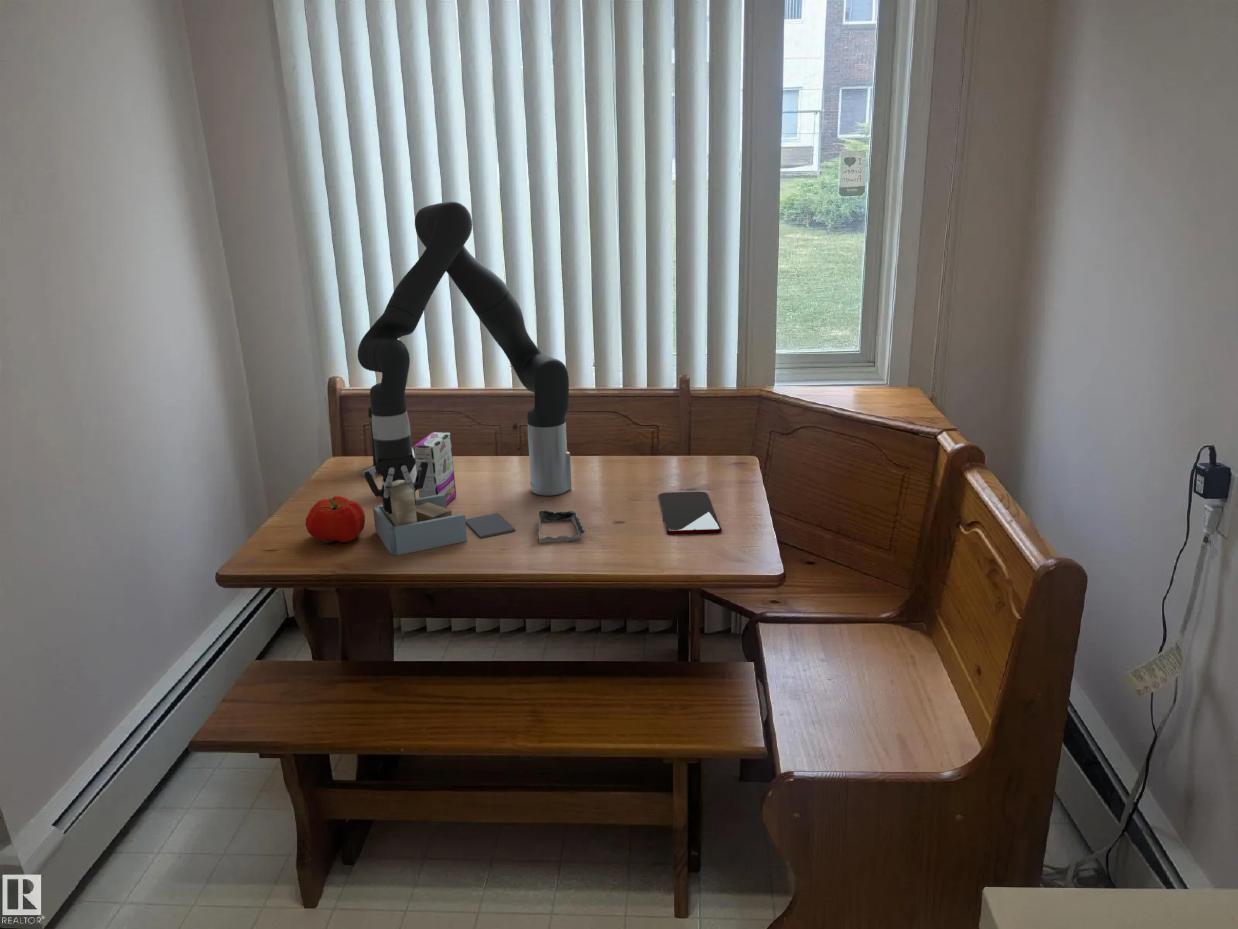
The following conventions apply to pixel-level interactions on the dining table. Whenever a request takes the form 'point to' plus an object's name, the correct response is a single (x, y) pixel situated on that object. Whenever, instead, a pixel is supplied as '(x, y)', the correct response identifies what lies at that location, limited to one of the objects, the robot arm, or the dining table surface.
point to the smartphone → (688, 513)
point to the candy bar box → (437, 465)
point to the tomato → (335, 520)
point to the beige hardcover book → (401, 504)
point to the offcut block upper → (431, 512)
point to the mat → (489, 525)
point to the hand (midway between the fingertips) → (400, 510)
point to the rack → (420, 530)
